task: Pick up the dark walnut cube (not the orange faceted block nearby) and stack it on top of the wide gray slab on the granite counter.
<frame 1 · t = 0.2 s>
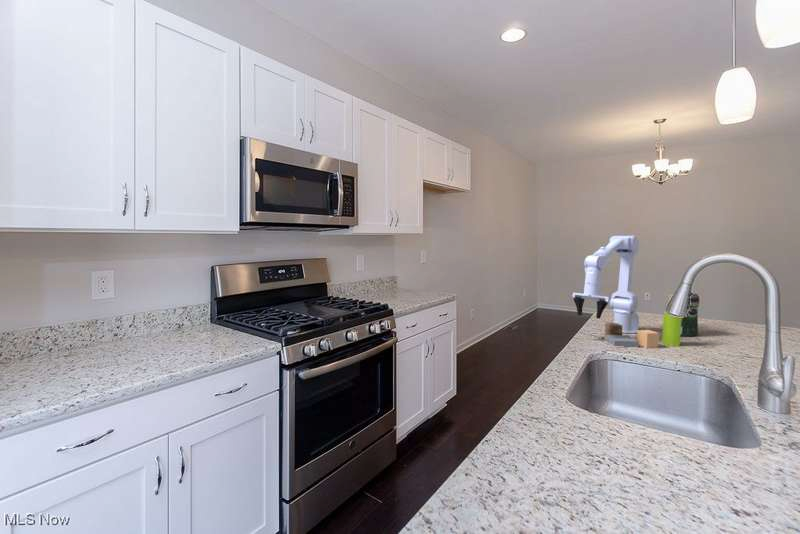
hand: (588, 316, 159), 11 cm above the worktop, tool pointing down, fingers open, 7 cm apart
orange faceted block: (647, 346, 153), on the worktop
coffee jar: (683, 334, 170), on the worktop
gray slab: (621, 345, 156), on the worktop
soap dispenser: (671, 344, 156), on the worktop
walnut cube: (613, 337, 166), on the worktop
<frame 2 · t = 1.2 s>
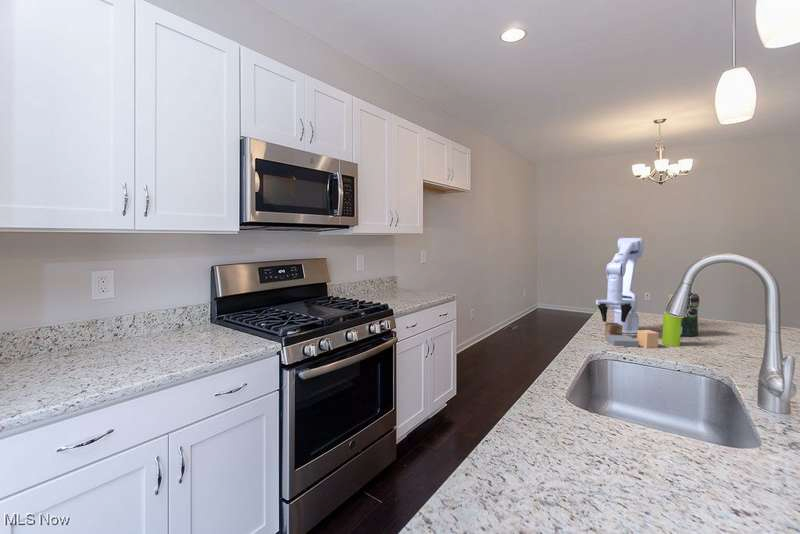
hand: (613, 321, 165), 7 cm above the worktop, tool pointing down, fingers open, 7 cm apart
nothing on the worktop moved.
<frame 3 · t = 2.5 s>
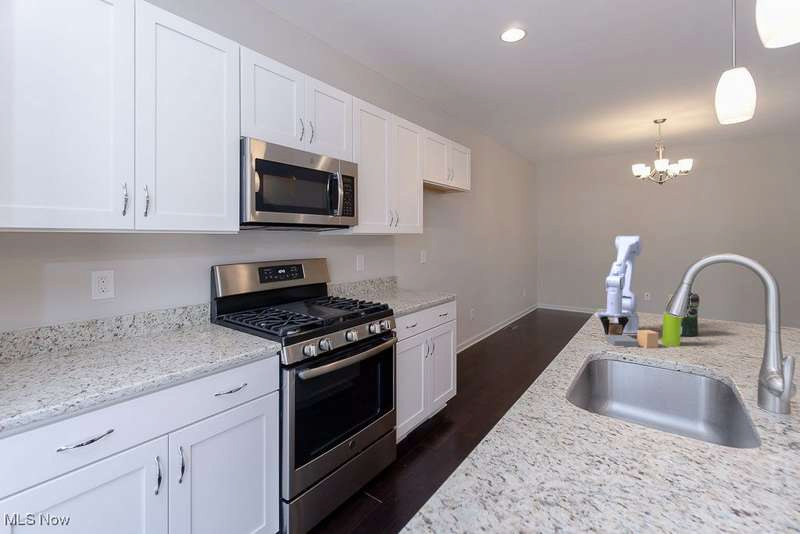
hand: (613, 333, 166), 2 cm above the worktop, tool pointing down, fingers closed on walnut cube, 5 cm apart
walnut cube: (613, 337, 166), on the worktop, touching gripper
everything else where it was.
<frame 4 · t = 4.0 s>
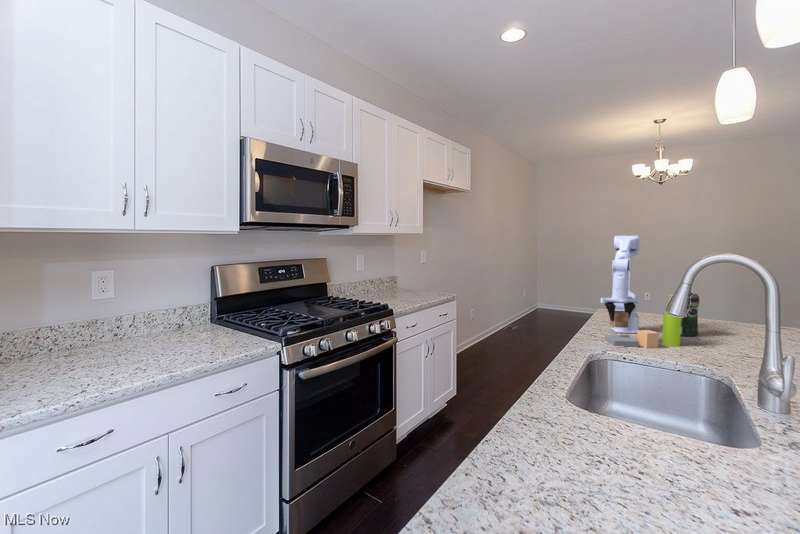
hand: (619, 320, 159), 9 cm above the worktop, tool pointing down, fingers closed on walnut cube, 5 cm apart
walnut cube: (618, 326, 159), point 7 cm above the worktop, touching gripper
everything else where it was.
when the fingers open (6 cm above the worktop, at t = 5.7 s): walnut cube stays where it is, point 2 cm above the worktop.
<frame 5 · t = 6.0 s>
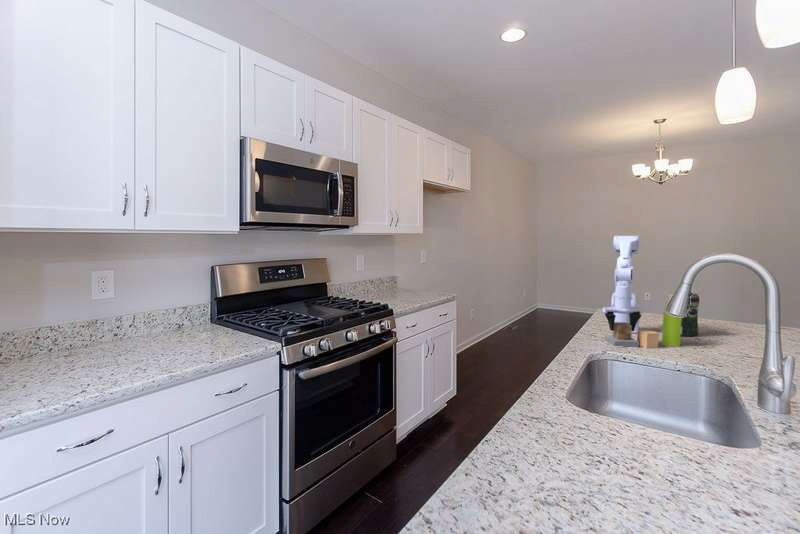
hand: (621, 330, 156), 6 cm above the worktop, tool pointing down, fingers open, 7 cm apart
walnut cube: (621, 338, 156), point 2 cm above the worktop
everything else where it was.
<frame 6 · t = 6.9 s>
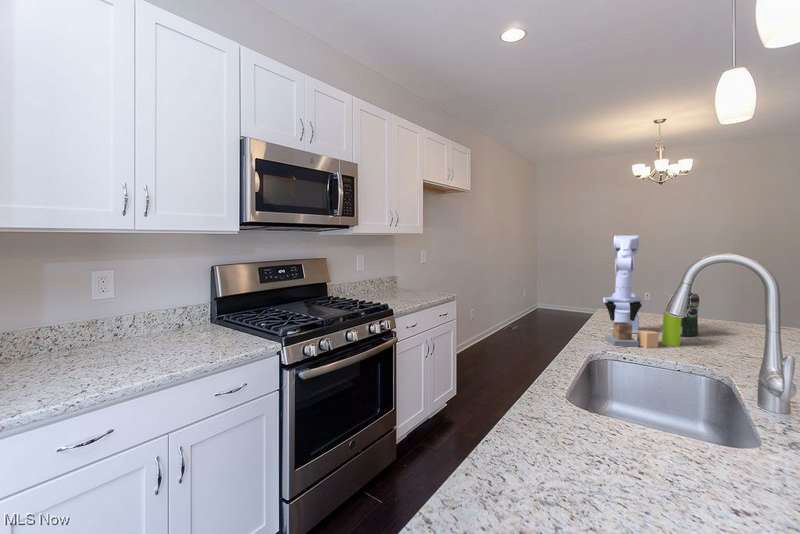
hand: (622, 320, 156), 10 cm above the worktop, tool pointing down, fingers open, 7 cm apart
nothing on the worktop moved.
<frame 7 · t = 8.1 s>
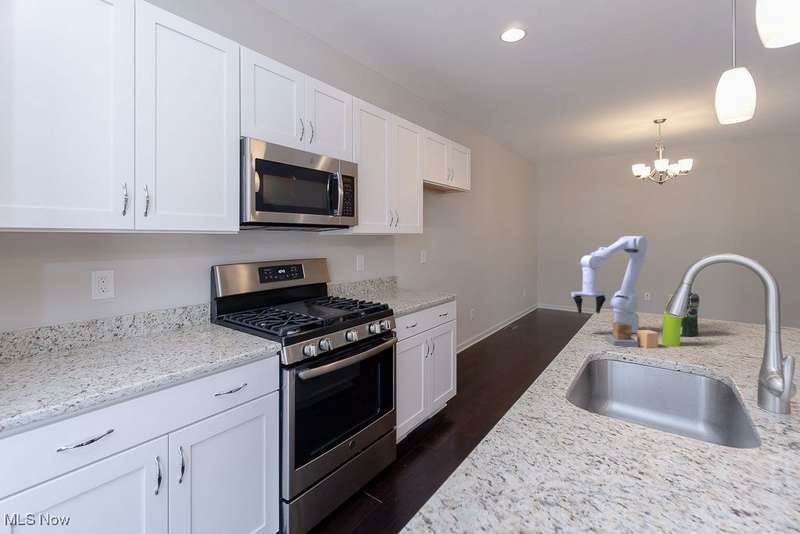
hand: (588, 312, 170), 10 cm above the worktop, tool pointing down, fingers open, 7 cm apart
gray slab: (621, 345, 156), on the worktop, touching walnut cube
walnut cube: (621, 338, 156), point 2 cm above the worktop, touching gray slab
everything else where it was.
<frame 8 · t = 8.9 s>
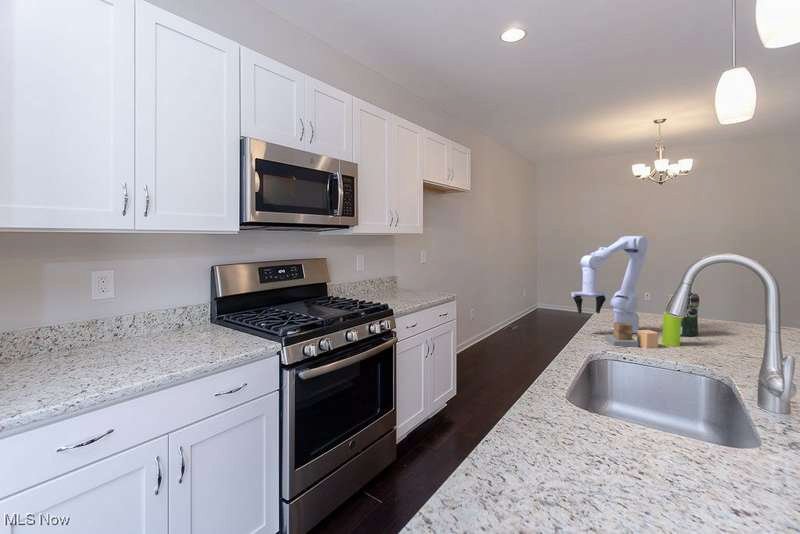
hand: (588, 312, 170), 10 cm above the worktop, tool pointing down, fingers open, 7 cm apart
nothing on the worktop moved.
at the end: walnut cube 0.3 cm off-centre on the gray slab, point 3.0 cm above the gray slab's base; walnut cube tilted 1°; the gripper is holding nothing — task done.
